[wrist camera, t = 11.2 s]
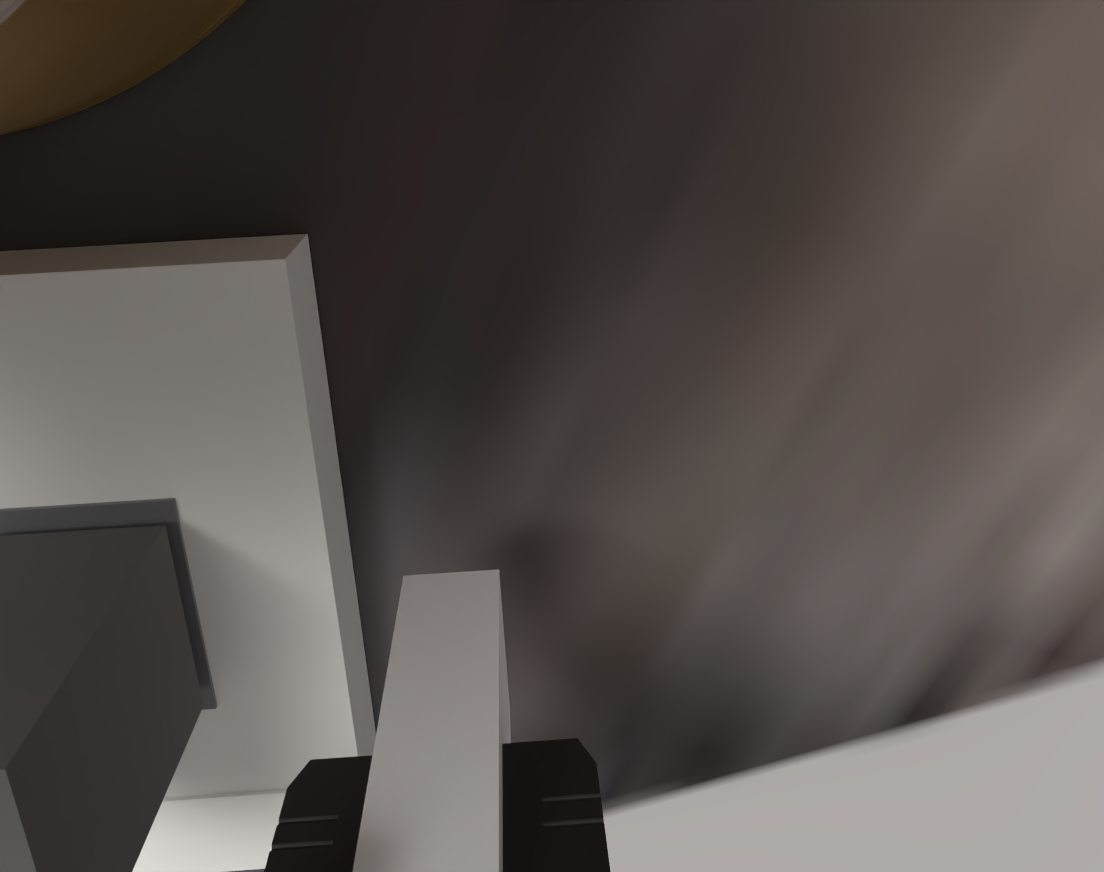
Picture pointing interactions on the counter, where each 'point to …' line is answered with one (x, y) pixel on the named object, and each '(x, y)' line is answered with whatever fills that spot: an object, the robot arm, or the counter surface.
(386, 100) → the counter surface
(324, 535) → the switch board
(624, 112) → the counter surface
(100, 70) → the vase
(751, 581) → the counter surface
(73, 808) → the knob
